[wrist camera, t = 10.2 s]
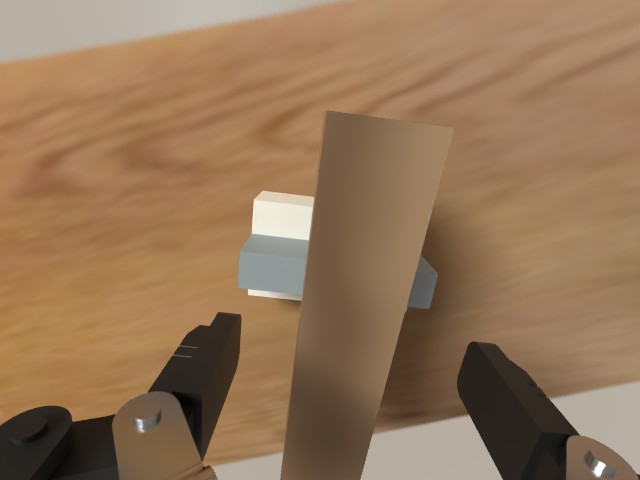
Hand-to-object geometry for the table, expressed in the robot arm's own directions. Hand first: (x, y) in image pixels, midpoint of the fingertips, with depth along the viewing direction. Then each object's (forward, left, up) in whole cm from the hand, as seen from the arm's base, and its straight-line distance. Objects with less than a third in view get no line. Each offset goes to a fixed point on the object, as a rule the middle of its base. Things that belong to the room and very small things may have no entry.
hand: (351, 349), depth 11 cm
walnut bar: (0, 0, -5) cm, 5 cm away
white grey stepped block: (0, 0, -11) cm, 11 cm away
